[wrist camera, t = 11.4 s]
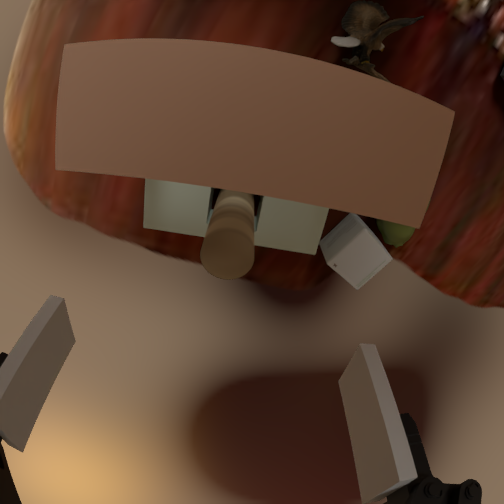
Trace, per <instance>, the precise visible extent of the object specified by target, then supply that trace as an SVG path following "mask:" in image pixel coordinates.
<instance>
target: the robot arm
mask: <svg viewBox="0 0 504 504" xmlns="http://www.w3.org/2000/svg"><path fill="white" fill-rule="evenodd" d="M74 343H75V338H74V335H73V331H72V328H71V324H70V321H69V316H68V312H67V308H66V304H65V300H64V298H60V297H57V296H53V295H50V297H49V298H48V299H47V301H46V302H45V303H44V304H43V306H42V307H41V309H40V310H39V311H38V313H37V314H36V316H35V317H34V318H33V320H32V321H31V322H30V324H29V325H28V327H27V328H26V329H25V331H24V332H23V334H22V335H21V337H20V338H19V340H18V341H17V343H16V344H15V346H14V347H13V349H12V350H11V352H10V353H9V355H8V354H6V353H3V352H2V353H1V354H0V504H22V503H21V501H20V498H19V496H18V493H17V491H16V488H15V485H14V482H13V479H12V476H11V473H10V470H9V467H8V464H7V460H6V457H5V453H4V449H3V447H2V445H1V441H2V439H3V440H4V441H5V442H6V443H7V444H8V445H10V446H12V447H13V448H15V449H17V450H19V451H21V452H23V451H24V448H25V445H26V443H27V441H28V438H29V436H30V434H31V431H32V429H33V427H34V424H35V422H36V420H37V417H38V415H39V413H40V410H41V409H42V406H43V404H44V402H45V400H46V398H47V396H48V394H49V392H50V389H51V387H52V385H53V383H54V381H55V379H56V377H57V375H58V373H59V371H60V370H61V368H62V366H63V364H64V362H65V360H66V358H67V356H68V354H69V352H70V350H71V348H72V347H73V345H74ZM339 386H340V390H341V395H342V400H343V404H344V409H345V414H346V418H347V423H348V428H349V433H350V438H351V443H352V448H353V454H354V459H355V465H356V470H357V475H358V482H359V487H360V493H361V500H362V504H365V503H370V502H376V501H380V500H381V499H383V498H385V497H387V502H386V503H384V504H481V497H482V489H481V486H480V484H479V483H478V482H477V481H476V480H473V479H468V480H466V481H464V482H463V483H461V484H444V483H442V482H441V481H440V480H439V479H438V478H435V477H433V475H432V473H431V471H430V467H429V464H428V460H427V457H426V454H425V451H424V447H423V444H422V443H421V438H420V435H419V432H418V429H417V426H416V423H415V421H414V420H413V419H412V417H411V416H410V415H409V413H405V414H399V411H398V408H397V406H396V403H395V399H394V396H393V393H392V391H391V388H390V385H389V382H388V379H387V376H386V373H385V371H384V368H383V365H382V362H381V360H380V357H379V354H378V352H377V349H376V346H375V344H359V346H358V348H357V350H356V352H355V354H354V355H353V357H352V359H351V361H350V362H349V364H348V366H347V368H346V369H345V371H344V373H343V375H342V376H341V378H340V380H339Z"/></svg>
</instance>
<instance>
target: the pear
mask: <svg viewBox="0 0 504 504" xmlns="http://www.w3.org/2000/svg"><path fill="white" fill-rule="evenodd" d="M430 199H431V198H430ZM429 203H430V201H429ZM428 206H429V204H428ZM428 206H427V208H428ZM426 211H427V209H426ZM376 223H377V226H378V229H379V231H380V232H381V234H382V237H383V240H384V242H385V243H387V244H390V245H394V246H395V247H396V248H397V247H398V246H402V245H403V244H404V242H406V241H408V240H409V238H410V237H411V236H412V234H413V233H414V230H415V228H414V227H410V226H406V225H402V224H398V223H394V222H389V221H385V220H381V219H377V220H376Z"/></svg>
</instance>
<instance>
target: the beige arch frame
mask: <svg viewBox="0 0 504 504" xmlns="http://www.w3.org/2000/svg"><path fill="white" fill-rule="evenodd" d="M454 114H455V112H454V111H452V110H450V109H448V108H446V107H444V106H442V105H440V104H438V103H436V102H434V101H432V100H430V99H427V98H425V97H423V96H421V95H418V94H416V93H414V92H411V91H409V90H407V89H404V88H402V87H399V86H397V85H394V84H391V83H389V82H386V81H384V80H381V79H378V78H375V77H372V76H369V75H367V74H364V73H361V72H357V71H354V70H351V69H348V68H345V67H341V66H338V65H334V64H331V63H327V62H324V61H320V60H316V59H312V58H308V57H304V56H299V55H295V54H290V53H285V52H281V51H275V50H270V49H264V48H258V47H252V46H246V45H238V44H231V43H222V42H212V41H201V40H185V39H117V40H102V41H91V42H81V43H73V44H66V45H64V50H63V57H62V64H61V71H60V80H59V89H58V101H57V115H56V147H55V158H56V170H64V171H77V172H88V173H99V174H109V175H119V176H128V177H137V178H146V179H154V180H162V181H170V182H178V183H185V184H192V185H199V186H206V187H213V188H219V189H226V190H232V191H238V192H244V193H250V194H256V195H262V196H268V197H273V198H279V199H284V200H290V201H295V202H300V203H306V204H311V205H316V206H321V207H326V208H331V209H335V210H340V211H345V212H350V213H354V214H359V215H363V216H368V217H372V218H377V219H381V220H385V221H389V222H394V223H398V224H402V225H406V226H410V227H414V228H418V229H419V228H420V225H421V223H422V220H423V217H424V215H425V212H426V209H427V206H428V204H429V201H430V198H431V195H432V192H433V189H434V186H435V183H436V180H437V177H438V173H439V170H440V167H441V164H442V160H443V157H444V153H445V150H446V146H447V142H448V139H449V135H450V131H451V127H452V123H453V118H454Z"/></svg>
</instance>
